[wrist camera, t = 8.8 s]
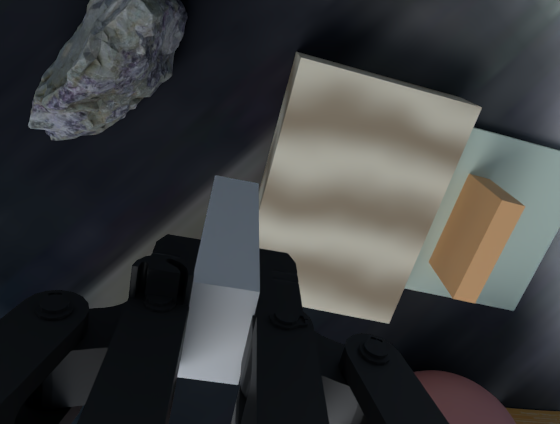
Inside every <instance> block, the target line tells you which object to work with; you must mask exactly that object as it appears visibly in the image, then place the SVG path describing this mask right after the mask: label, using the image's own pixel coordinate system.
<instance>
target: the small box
mask: <svg viewBox="0 0 560 424" xmlns="http://www.w3.org/2000/svg"><path fill="white" fill-rule="evenodd" d="M506 409H507V411H508V412H509V413H510V415H511V416H512V418H513V419H514V421H515V423H516V424H560V411H542V410H528V409H516V408H506Z"/></svg>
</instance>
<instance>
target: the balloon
mask: <svg viewBox="0 0 560 424" xmlns="http://www.w3.org/2000/svg"><path fill="white" fill-rule="evenodd" d="M414 374H415V375H416V376H417V378H418V379H419V381H420V382H421V384H422V385H423V386H424V388H425V389H426V391H427V392H428V394H429V395H430V397H431V398H432V399H433V401H434V402H435V404H436V405H437V407H438V408H439V409H440V411H441V412H442V414H443V415H444V417H445V418H446V419H447V421H448V422H449V424H516V423H515V421H514V419H513V418H512V416H511V415H510V413H509V412H508V411H507V409H506V408H505V407H504V406H503V405H502V404H501V403H500V402H499V401H498V400H497V399H496V398H495V397H494V396H493V395H492V394H491V393H490V392H488V391H487V390H486V389H484V388H483V387H482V386H480V385H479V384H477V383H475V382H473V381H471V380H469V379H467V378H465V377H463V376H460V375H457V374H454V373H450V372H445V371H437V370H425V371H417V372H414Z"/></svg>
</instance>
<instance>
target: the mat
mask: <svg viewBox="0 0 560 424" xmlns="http://www.w3.org/2000/svg"><path fill="white" fill-rule="evenodd" d="M469 174H472V175H476V176H480V177H484V178H487V179H490V180H491V181H493V182H494V183H495V184H497V185H498V186H499V187H501V188H502V189H503V190H505V191H506V192H507V193H509V194H510V195H511V196H513V197H514V198H515V199H517V200H518V201H519V202H520V203H522V204H523V205H524V206H525V208H524V210H523V212H522V214H521V216H520V218H519V220H518V222H517V224H516V226H515V228H514V230H513V231H512V233H511V235H510V237H509V239H508V241H507V243H506V245H505V247H504V249H503V251H502V253H501V255H500V256H499V258H498V260H497V262H496V264H495V266H494V268H493V270H492V272H491V274H490V276H489V278H488V280H487V281H486V283H485V285H484V287H483V289H482V291H481V293H480V295H479V297H478V299H477V301H476V303H478V304H482V305H487V306H492V307H497V308H502V309H506V310H511V311H514V310H515V308H516V306H517V305H518V303H519V301H520V299H521V297H522V295H523V294H524V292H525V290H526V288H527V286H528V284H529V283H530V281H531V279H532V277H533V275H534V273H535V272H536V270H537V268H538V266H539V264H540V262H541V261H542V259H543V257H544V255H545V253H546V251H547V250H548V248H549V246H550V244H551V242H552V240H553V239H554V237H555V235H556V233H557V231H558V229H559V228H560V150H557V149H553V148H550V147H546V146H542V145H539V144H535V143H531V142H527V141H524V140H520V139H516V138H513V137H509V136H505V135H501V134H498V133H494V132H490V131H487V130H483V129H479V128H476V127H473V130H472V132H471V134H470V137H469V139H468V141H467V144H466V146H465V148H464V150H463V153H462V155H461V157H460V160H459V162H458V164H457V167H456V169H455V171H454V174H453V176H452V178H451V181H450V183H449V185H448V188H447V190H446V192H445V195H444V197H443V199H442V202H441V204H440V206H439V209H438V211H437V213H436V216H435V218H434V220H433V223H432V225H431V227H430V229H429V232H428V234H427V236H426V239H425V241H424V243H423V246H422V248H421V250H420V253H419V255H418V257H417V260H416V262H415V264H414V267H413V269H412V271H411V274H410V276H409V278H408V281H407V283H406V285H405V288H406V289H410V290H415V291H420V292H425V293H430V294H434V295H439V296H444V297H449V298H452V296H451V295H450V293H449V292H448V290H447V289H446V288H445V286H444V285H443V283H442V282H441V280H440V279H439V277H438V276H437V274H436V273H435V271H434V270H433V268H432V267H431V265H430V264H429V260H430V258H431V256H432V253H433V251H434V249H435V247H436V245H437V242H438V240H439V238H440V236H441V234H442V232H443V229H444V227H445V225H446V223H447V221H448V218H449V216H450V214H451V212H452V210H453V207H454V205H455V203H456V201H457V199H458V197H459V194H460V192H461V190H462V188H463V186H464V183H465V181H466V179H467V177H468V175H469Z"/></svg>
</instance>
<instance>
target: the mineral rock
mask: <svg viewBox="0 0 560 424" xmlns="http://www.w3.org/2000/svg"><path fill="white" fill-rule="evenodd" d="M187 18H188V17H187V12H186V10H185V7H184V5H183V3H182V2H181V1H180V0H90V1H89V3H88V5H87V12H86V15H85V17H84V19H83V21H82V23H81V24H80V25H79V26H78V27H77V30H76V31H75V33H74V35H73V36H72V37H71V39H70V40H68V41H67V42H66V43H65V45H64V47H63V48H62V49H61V50H60V52H59V55H58V58H57V59H56V61H55V62H54V63H53V64H52V65H51V66H50V67H49V68H48V69H47V70H46V72H45V73H44V74H43V76H42V80H41V82H40V84H39V87H38V88H37V90H36V92H35V95H34V99H33V101H32V105H33V106H32V109H31V116H30V120H29V124H28V126H29V127H30V128H31V129H43V130H45V132H46V134H48V135H49V136H50V138H51V140H54V141H58V140H66V139H74V138H77V137H79V136H82V135H83V136H84V135H95V134H98V133H101V132H103V131H104V130H105V129H107V128H108V127H110V126H112V125H113V124H114V123H116V122H117V121H118V120H120V119H123V118H124V117H125V116H126V113H127V112H128V111H129V110H130V109H135V108H136V106H137V104H138V102H140V101H141V100H142V99H143V98H144V97H151V95H152V94H153V93H154V92H155V91H156V90H157V88H158V87H159V86H160V84H161V83H163V82H164V81H166V80H168V79H169V78H170V77H171V76H172V70H173V60H174V53H175V50H176V49H177V48H178V47H179V42H180V41H181V39H182V37H183V34H184V28H185V23H186V20H187Z"/></svg>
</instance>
